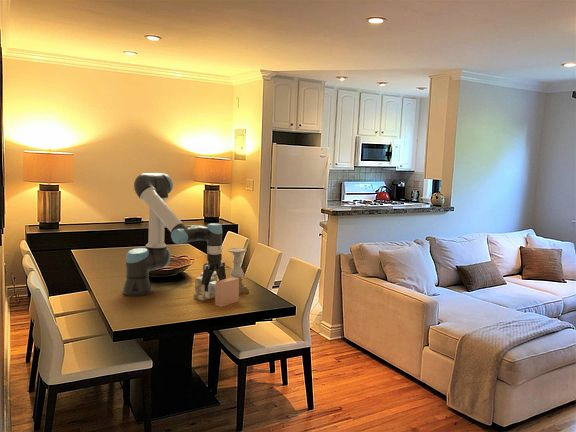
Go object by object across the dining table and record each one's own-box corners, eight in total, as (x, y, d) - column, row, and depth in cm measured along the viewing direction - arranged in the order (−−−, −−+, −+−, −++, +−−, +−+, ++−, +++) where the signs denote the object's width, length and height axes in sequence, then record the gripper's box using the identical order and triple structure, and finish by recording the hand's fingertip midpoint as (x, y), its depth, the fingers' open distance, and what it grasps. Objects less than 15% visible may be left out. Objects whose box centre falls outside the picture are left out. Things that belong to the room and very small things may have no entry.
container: (212, 287, 284) (212, 265, 282) (199, 286, 285) (200, 264, 284) (217, 284, 291) (217, 262, 290) (204, 283, 293) (205, 261, 291)
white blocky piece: (193, 297, 261) (193, 278, 260) (207, 294, 269) (207, 275, 268) (202, 300, 257) (203, 280, 256) (216, 296, 265) (216, 277, 264)
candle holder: (230, 295, 269) (231, 252, 267) (223, 290, 279) (224, 248, 276) (249, 293, 274) (250, 250, 272) (241, 288, 284) (242, 247, 281)
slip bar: (198, 289, 262) (198, 280, 262) (205, 287, 266) (205, 278, 266) (218, 294, 253) (219, 285, 253) (225, 292, 258) (225, 283, 257)
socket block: (215, 305, 250) (215, 281, 248) (232, 299, 260) (233, 276, 259) (221, 306, 247) (221, 282, 246) (238, 301, 258) (239, 278, 256)
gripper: (204, 257, 246) (204, 301, 248) (233, 251, 263) (232, 292, 266) (194, 255, 250) (193, 298, 253) (223, 249, 267) (222, 290, 270)
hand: (213, 295), depth 259 cm, fingers open, 9 cm apart
